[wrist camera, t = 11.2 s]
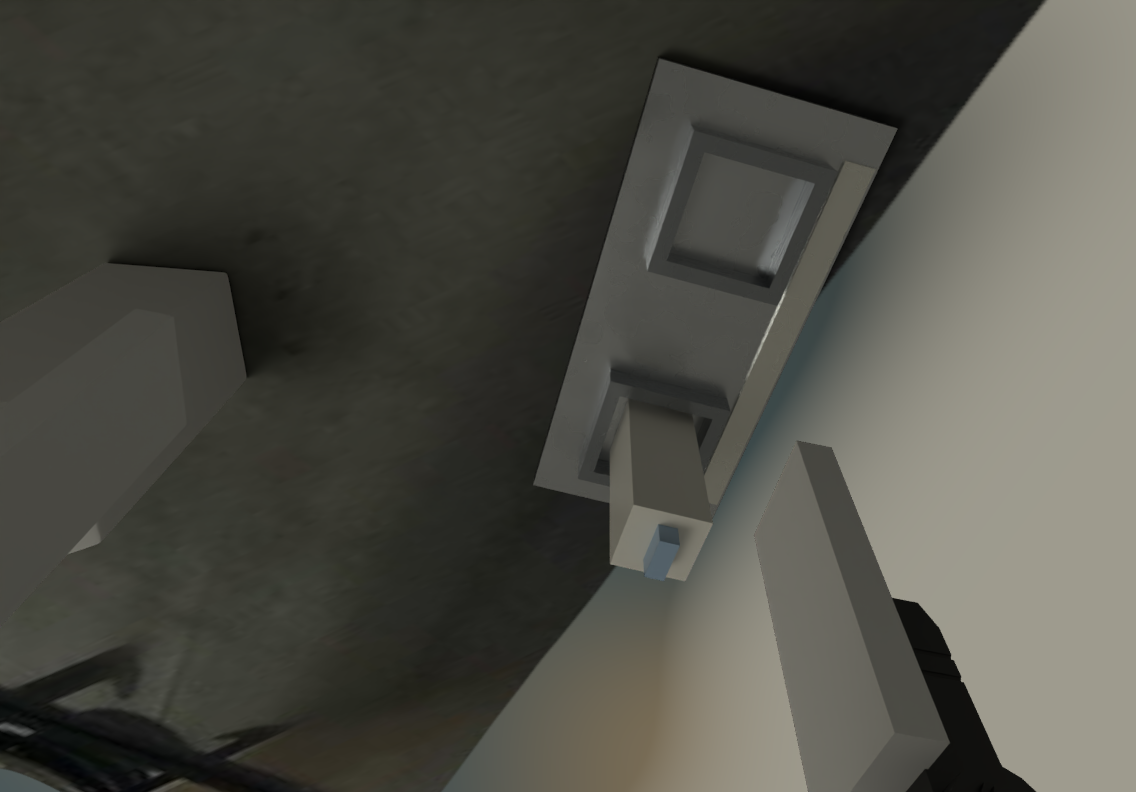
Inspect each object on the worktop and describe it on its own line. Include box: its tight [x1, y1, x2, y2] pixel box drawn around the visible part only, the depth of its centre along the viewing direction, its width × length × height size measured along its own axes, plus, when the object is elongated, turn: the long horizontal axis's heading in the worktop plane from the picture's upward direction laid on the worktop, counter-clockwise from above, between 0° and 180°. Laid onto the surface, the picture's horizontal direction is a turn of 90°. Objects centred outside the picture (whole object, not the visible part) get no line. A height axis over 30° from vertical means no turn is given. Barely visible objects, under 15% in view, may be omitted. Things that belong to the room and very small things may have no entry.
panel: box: [533, 56, 897, 518], centre depth 40 cm, size 26×12×2 cm, turn 166°
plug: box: [610, 398, 713, 581], centre depth 39 cm, size 4×4×11 cm
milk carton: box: [0, 263, 247, 554], centre depth 35 cm, size 7×7×19 cm
